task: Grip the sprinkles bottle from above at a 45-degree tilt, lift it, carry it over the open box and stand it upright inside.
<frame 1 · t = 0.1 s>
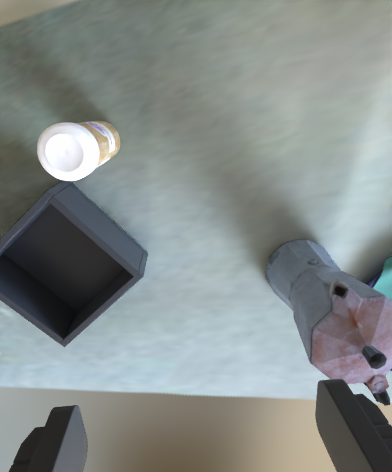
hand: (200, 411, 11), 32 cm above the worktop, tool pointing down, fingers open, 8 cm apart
sprinkles bottle: (101, 140, 39), on the worktop
open box: (73, 252, 43), on the worktop
moka pot: (298, 269, 46), on the worktop
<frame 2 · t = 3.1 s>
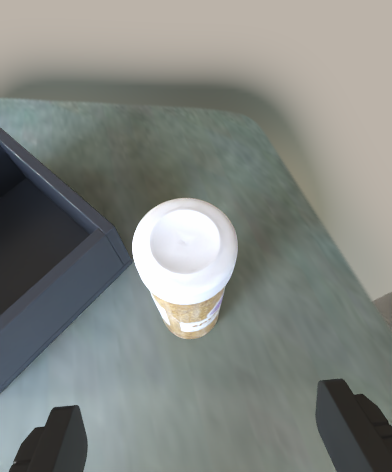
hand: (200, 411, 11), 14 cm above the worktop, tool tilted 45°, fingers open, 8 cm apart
sprinkles bottle: (190, 310, 26), on the worktop
open box: (16, 269, 27), on the worktop
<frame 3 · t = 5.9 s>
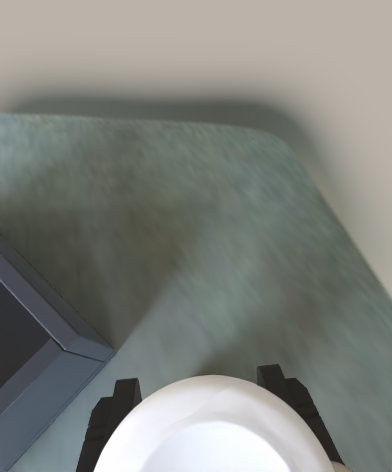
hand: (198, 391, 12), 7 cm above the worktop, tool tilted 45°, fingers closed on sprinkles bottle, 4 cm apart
sprinkles bottle: (201, 430, 18), on the worktop, touching gripper
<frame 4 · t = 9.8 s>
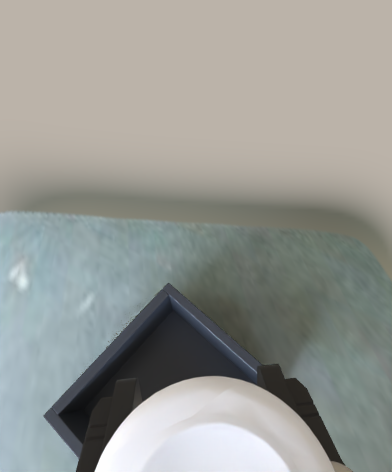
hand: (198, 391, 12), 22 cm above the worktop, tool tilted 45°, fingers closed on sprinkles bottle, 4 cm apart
sprinkles bottle: (201, 430, 18), point 14 cm above the worktop, touching gripper
open box: (177, 402, 31), on the worktop
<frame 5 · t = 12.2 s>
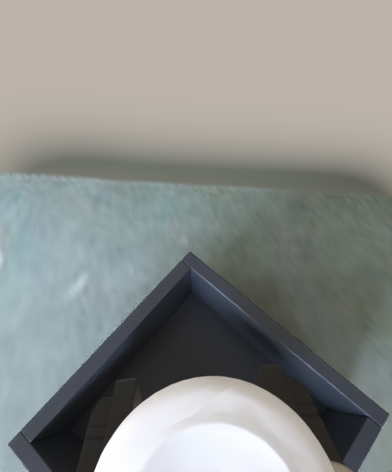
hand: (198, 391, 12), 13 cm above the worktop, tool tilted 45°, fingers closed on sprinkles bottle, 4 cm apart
sprinkles bottle: (201, 430, 18), point 6 cm above the worktop, touching gripper
open box: (200, 417, 23), on the worktop
when the fingers open (8 cm above the worktop, at t = 14.0 s): sprinkles bottle stays where it is, resting on open box.
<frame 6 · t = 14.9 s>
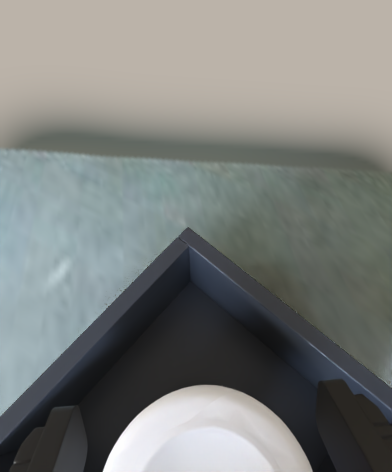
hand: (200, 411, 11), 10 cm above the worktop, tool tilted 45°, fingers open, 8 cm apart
sprinkles bottle: (199, 431, 19), point 1 cm above the worktop, touching open box
open box: (199, 426, 19), on the worktop
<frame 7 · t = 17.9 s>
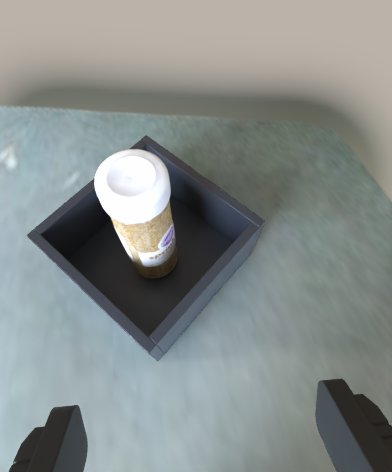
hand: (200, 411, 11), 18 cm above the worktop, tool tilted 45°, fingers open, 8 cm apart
sprinkles bottle: (155, 257, 32), point 1 cm above the worktop, touching open box
open box: (155, 258, 33), on the worktop
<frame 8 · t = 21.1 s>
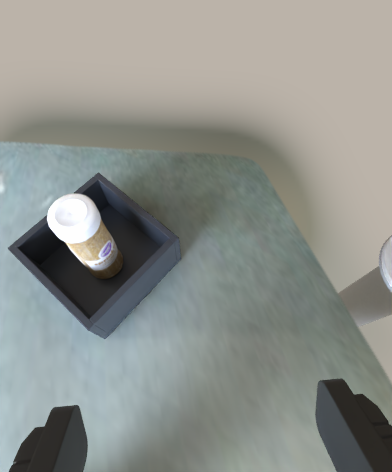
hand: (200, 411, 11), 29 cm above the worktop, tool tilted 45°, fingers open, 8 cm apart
sprinkles bottle: (106, 263, 43), point 1 cm above the worktop, touching open box
open box: (108, 263, 44), on the worktop
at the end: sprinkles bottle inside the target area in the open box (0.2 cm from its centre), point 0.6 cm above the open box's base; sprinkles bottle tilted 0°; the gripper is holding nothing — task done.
